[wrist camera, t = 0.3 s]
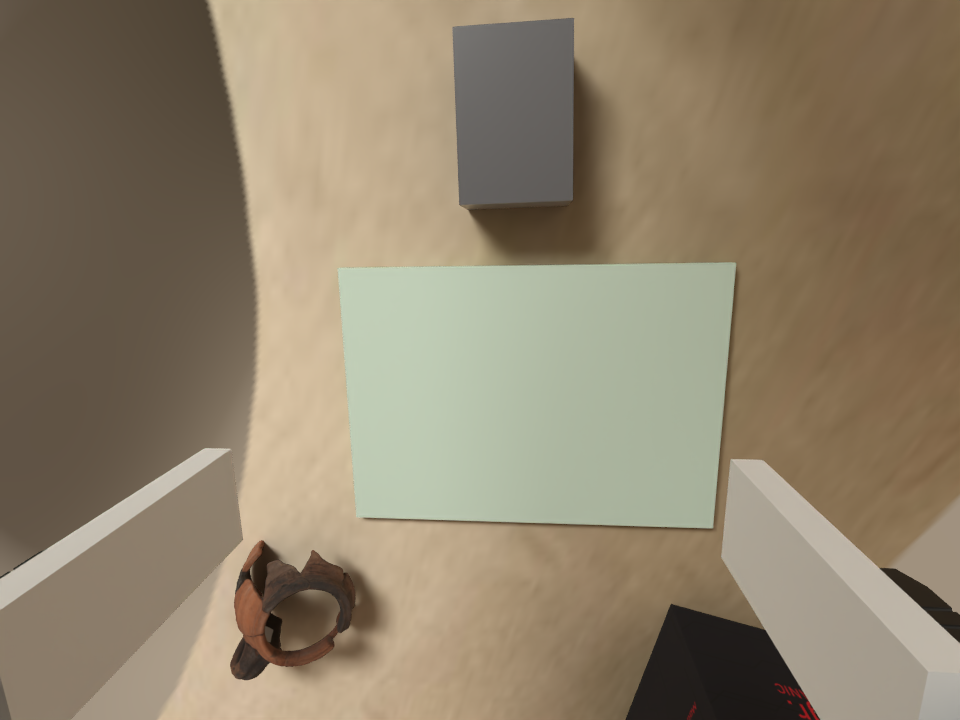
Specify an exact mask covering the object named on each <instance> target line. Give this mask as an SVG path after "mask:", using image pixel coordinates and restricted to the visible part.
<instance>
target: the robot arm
mask: <svg viewBox="0 0 960 720" xmlns="http://www.w3.org/2000/svg"><path fill="white" fill-rule="evenodd" d="M242 540H243V536H242V528H241V520H240V513H239V505H238V497H237V489H236V482H235V474H234V466H233V459H232V451H231V449H211V448H205V449H203V450H201V451H200V452H198V453H197V454H195V455H194V456H192V457H190V458H189V459H187V460H186V461H184V462H183V463H181V464H179V465H178V466H176V467H175V468H173V469H172V470H170V471H168V472H167V473H165V474H164V475H163V476H161V477H159V478H158V479H156V480H155V481H153V482H151V483H150V484H148V485H147V486H145V487H143V488H142V489H140V490H139V491H137V492H136V493H134V494H132V495H131V496H129V497H128V498H126V499H125V500H123V501H122V502H120V503H118V504H117V505H115V506H114V507H112V508H111V509H109V510H107V511H106V512H104V513H103V514H101V515H100V516H98V517H96V518H95V519H93V520H92V521H90V522H89V523H87V524H85V525H84V526H82V527H81V528H79V529H78V530H76V531H75V532H73V533H71V534H70V535H68V536H67V537H65V538H64V539H62V540H60V541H59V542H57V543H56V544H54V545H53V546H51V547H49V548H48V549H45V550H43V551H41V552H39V553H37V554H36V555H34V556H32V557H31V558H29V559H28V560H26V561H25V562H23V563H21V564H20V565H18V566H17V567H15V568H14V570H13V571H12V572H7V573H6V574H4V575H3V576H1V577H0V720H71V719H72V718H73V717H74V716H75V715H76V713H77V712H78V711H79V710H80V709H81V708H82V707H83V706H84V705H85V704H86V703H87V702H88V701H89V700H90V699H91V698H92V697H93V696H94V695H95V693H96V692H98V690H99V689H100V688H101V687H102V686H103V685H104V684H105V683H106V682H107V681H108V680H109V679H110V678H111V677H112V676H113V675H114V674H115V673H116V672H117V671H118V670H119V668H120V667H122V665H123V664H124V663H125V662H126V661H127V660H128V659H129V658H130V657H131V656H132V655H133V654H134V653H135V652H136V651H137V650H138V649H139V648H140V647H141V646H142V645H143V644H144V642H145V641H146V640H147V639H148V638H149V637H150V636H151V635H152V634H153V633H154V632H155V631H156V630H157V629H158V628H159V627H160V626H161V625H162V623H164V622H165V620H167V618H168V617H169V616H170V615H171V614H172V613H173V612H174V611H175V610H176V609H177V608H178V607H179V606H180V605H181V604H182V603H183V602H184V601H185V600H186V599H187V598H188V596H190V594H191V593H192V592H193V591H194V590H195V589H196V588H197V587H198V586H199V585H200V584H201V583H202V582H203V581H204V580H205V579H206V578H207V577H208V576H209V574H211V573H212V571H213V570H214V569H215V568H216V567H217V566H218V565H219V564H220V563H221V562H222V561H223V560H224V559H225V558H226V557H227V556H228V555H229V554H230V553H231V552H232V551H233V550H234V549H235V547H236V546H237V545H238V544H239V543H240V542H241V541H242ZM721 558H722V559H723V561H724V563H725V564H726V566H727V568H728V569H729V571H730V573H731V574H732V576H733V577H734V579H735V581H736V582H737V584H738V586H739V587H740V589H741V591H742V592H743V594H744V596H745V597H746V599H747V600H748V602H749V604H750V605H751V607H752V609H753V610H754V612H755V614H756V615H757V617H758V618H759V620H760V622H761V623H762V625H763V627H764V628H765V630H766V632H767V633H768V635H769V636H770V638H771V640H772V641H773V643H774V645H775V646H776V648H777V650H778V651H779V653H780V654H781V656H782V658H783V659H784V661H785V663H786V664H787V666H788V668H789V669H790V671H791V672H792V674H793V676H794V677H795V679H796V681H797V682H798V684H799V686H800V687H801V689H802V690H803V692H804V694H805V695H806V697H807V699H808V700H809V702H810V704H811V705H812V707H813V708H814V710H815V712H816V713H817V715H818V717H819V718H820V720H960V615H959V614H958V613H957V612H953V611H952V608H951V607H950V606H949V605H948V604H947V603H945V602H944V601H943V600H942V599H941V598H940V597H938V596H937V595H936V594H935V593H934V592H933V591H932V590H930V589H929V588H928V587H927V586H925V585H923V584H921V583H920V582H918V581H916V580H914V579H913V578H911V577H909V576H907V575H905V574H903V573H902V572H900V571H898V570H897V569H890V568H878V567H877V566H876V565H875V564H874V563H873V562H872V561H871V560H870V559H869V558H868V557H866V556H865V555H864V554H863V553H862V552H861V551H860V550H859V549H858V548H857V547H856V546H855V545H854V544H853V543H851V542H850V541H849V540H848V539H847V538H846V537H845V536H844V535H843V534H842V533H841V532H840V531H839V530H837V529H836V528H835V527H834V526H833V525H832V524H831V523H830V522H829V521H828V520H827V519H826V518H825V517H824V516H822V515H821V514H820V513H819V512H818V511H817V510H816V509H815V508H814V507H813V506H812V505H811V504H810V503H809V502H807V501H806V500H805V499H804V498H803V497H802V496H801V495H800V494H799V493H798V492H797V491H796V490H795V489H793V488H792V487H791V486H790V485H789V484H788V483H787V482H786V481H785V480H784V479H783V478H782V477H781V476H780V475H778V474H777V473H776V472H775V471H774V470H773V469H772V468H771V467H770V466H769V465H768V464H767V463H766V462H764V461H763V460H747V459H731V461H730V471H729V482H728V492H727V503H726V513H725V524H724V534H723V544H722V555H721Z"/></svg>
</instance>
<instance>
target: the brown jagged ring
mask: <svg viewBox="0 0 960 720" xmlns="http://www.w3.org/2000/svg"><path fill="white" fill-rule="evenodd" d="M263 546H264V541H259V542H258V543H257V544H256V545H255V547H254V548H253V549H252V551H251V552H250V554H249V556H248V558H247V561H246V562H245V564H244V566H243V568H242V570H241V572H240V575H239V579H238V581H237V587H236V592H235V600H234V608H235V614H236V621H237V624H238V628H239V630H240V631H241V632H242V633H243V638H242V640H241V641H240V643H239V645H238V647H237V649H236V651H235V653H234V655H233V658H232V660H231V664H230V667H231V672H232V674H233V675H234V676H235V678H236V679H243V680H250V679H253V678H255V677H257V676H258V675H259V674H261V673H262V671H263V670H264V669H265V667H266V666H267V665H268V664H269V663H273V664H275V665H279V666H286V667H288V666H292V667H293V666H299V665H304V664H308V663H310V662H312V661H315V660H317V659H319V658H321V657H323V656H324V655H326V654H327V653H328V652H330V651H331V650H332V649H333V648H334V641H333V638H334V637H335V636H336V635H337V633H342V632H343V631H345V630H346V629H348V628H349V625H350V621H351V612H352V609H353V607H354V605H355V589H354V585H353V582H352V580H351V578H350V576H349V574H348V573H343V570H342V568H340V567H338V566H336V565H333V564H331V563H328V562H326V561H325V560H324V559H322V558H321V557H320V555H319V554H318V553H317V552H315V551H314V550H312V551H311V556H310V558H309V560H308V562H307V564H306V565H305V567H304V569H303V570H302V572H301V573H299V572H298V571H297V569H296V568H295V567H294V566H292V565H289V564H285V563H283V562H281V561H280V560H275V561H272V562H270V563H268V564H267V573H268V575H267V578H266V582H265V591H264V596H263V598H262V592H261V591H260V590H258V589H257V588H256V586H255V585H254V583H253V582H252V579H251V575H250V568H251V566H252V565H253V564H254V562H255V561H256V560H257V559H258V558H259V557H260V556H261V554H262V548H263ZM308 589H316V590H322V591H326V592H328V593H330V594H332V595H333V596H334V597H335V598H336V599H337V601H338V603H339V605H340V612H339V614H338V616H337V619H336V622H337V625H336V626H335V628H334V629H333V630H332V631H331V632H330V633H329V634H328V635H327V636H326V637H325V638H323V639H322V640H321V641H319V642H317V643H316V644H314V645H312V646H310V647H307V648H304V649H301V650H296V651H283V650H281V648H280V647H281V643H280V633H281V624H282V619H280V618H279V617H276V616H274V615H273V614H272V613H271V611H272V610H273V609H274V608H275V607H276V606H277V605H278V604H279V603H280V602H281V601H282V600H284V599H285V598H287V597H289V596H291V595H292V594H295V593H297V592H300V591H304V590H308Z"/></svg>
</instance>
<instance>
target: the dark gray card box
mask: <svg viewBox="0 0 960 720" xmlns="http://www.w3.org/2000/svg"><path fill="white" fill-rule="evenodd" d="M453 52H454V77H455V103H456V129H457V155H458V181H459V205H460V206H462V207H464V208H466V209H467V210H476V209H501V208H527V207H552V206H568V205H569V204H570V203H571V202H572V201H573V96H574V18H566V19H552V20H539V21H525V22H511V23H497V24H484V25H470V26H456V27H453Z"/></svg>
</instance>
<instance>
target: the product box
mask: <svg viewBox="0 0 960 720" xmlns="http://www.w3.org/2000/svg"><path fill="white" fill-rule="evenodd" d="M626 720H820V718H819V717H818V715H817V713H816V712H815V710H814V708H813V707H812V705H811V704H810V702H809V700H808V699H807V697H806V695H805V694H804V692H803V690H802V689H801V687H800V686H799V684H798V682H797V681H796V679H795V677H794V676H793V674H792V672H791V671H790V669H789V668H788V666H787V664H786V663H785V661H784V659H783V658H782V656H781V654H780V653H779V651H778V650H777V648H776V646H775V645H774V643H773V641H772V640H771V638H770V636H769V635H768V633H767V632H766V630H763V629H759V628H756V627H752V626H748V625H745V624H741V623H738V622H734V621H730V620H727V619H723V618H720V617H716V616H712V615H709V614H705V613H702V612H698V611H694V610H691V609H687V608H683V607H680V606H676V605H673V604H671V605H670V608H669V610H668V613H667V615H666V618H665V620H664V623H663V626H662V628H661V631H660V633H659V636H658V638H657V641H656V643H655V646H654V649H653V651H652V654H651V656H650V659H649V661H648V664H647V666H646V669H645V671H644V674H643V677H642V679H641V682H640V684H639V687H638V689H637V692H636V694H635V697H634V700H633V702H632V705H631V707H630V710H629V712H628V715H627V717H626Z"/></svg>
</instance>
